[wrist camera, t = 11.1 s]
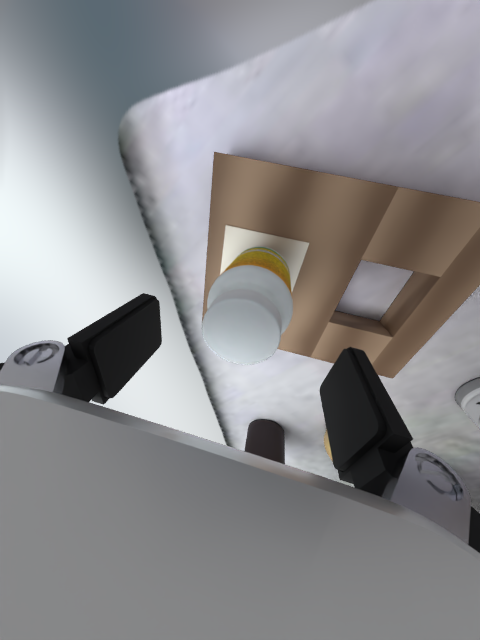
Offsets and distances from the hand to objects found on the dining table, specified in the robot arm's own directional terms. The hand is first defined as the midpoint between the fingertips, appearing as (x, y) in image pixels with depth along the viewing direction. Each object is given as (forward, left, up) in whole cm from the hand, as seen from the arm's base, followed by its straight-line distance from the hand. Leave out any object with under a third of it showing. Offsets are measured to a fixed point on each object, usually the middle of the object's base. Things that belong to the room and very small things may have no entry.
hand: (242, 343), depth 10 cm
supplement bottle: (0, 0, -10) cm, 10 cm away
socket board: (-6, 0, -13) cm, 14 cm away
